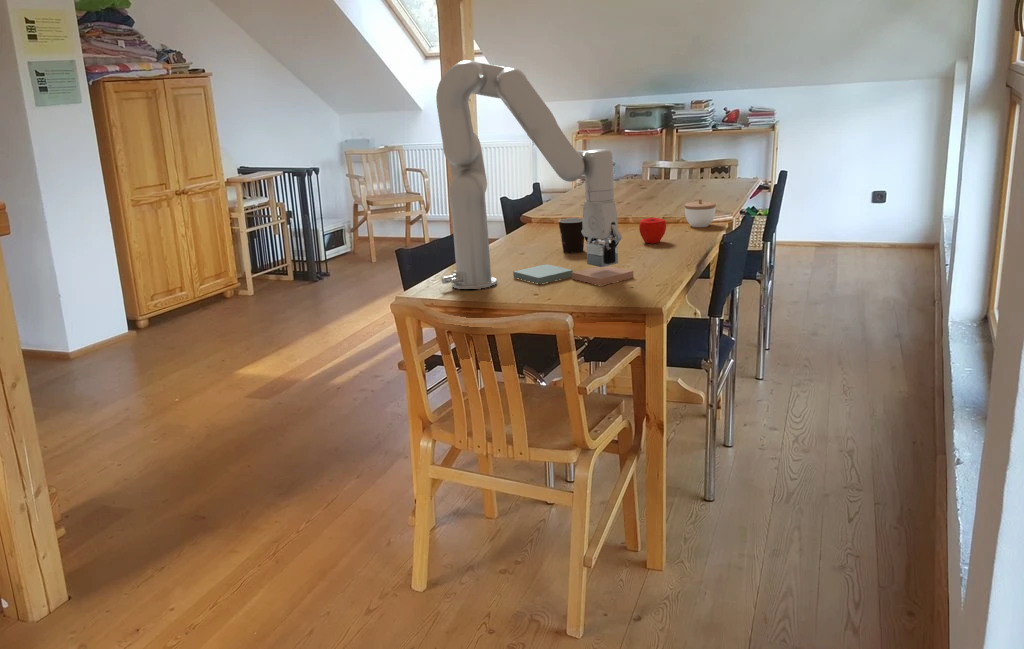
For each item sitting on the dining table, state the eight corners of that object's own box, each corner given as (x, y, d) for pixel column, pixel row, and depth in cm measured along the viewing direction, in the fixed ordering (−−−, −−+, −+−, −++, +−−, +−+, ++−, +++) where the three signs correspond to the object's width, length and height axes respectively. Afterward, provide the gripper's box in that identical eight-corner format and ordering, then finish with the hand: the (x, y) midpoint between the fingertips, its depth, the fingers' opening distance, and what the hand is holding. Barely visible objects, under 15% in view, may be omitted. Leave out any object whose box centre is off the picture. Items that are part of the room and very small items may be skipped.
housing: (601, 267, 233) (600, 245, 232) (587, 264, 238) (586, 242, 236) (618, 263, 237) (617, 241, 235) (603, 260, 241) (602, 238, 240)
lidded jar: (719, 223, 307) (720, 197, 304) (709, 229, 298) (709, 202, 296) (691, 222, 313) (691, 196, 310) (680, 227, 304) (679, 201, 301)
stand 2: (600, 286, 231) (600, 279, 230) (572, 279, 240) (571, 272, 240) (633, 278, 237) (633, 270, 237) (604, 271, 247) (604, 264, 246)
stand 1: (539, 285, 236) (538, 277, 236) (513, 278, 246) (513, 271, 245) (573, 277, 243) (572, 270, 242) (546, 270, 252) (546, 264, 252)
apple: (671, 242, 280) (671, 219, 278) (648, 246, 277) (647, 222, 275) (657, 238, 288) (657, 215, 286) (634, 242, 285) (633, 218, 283)
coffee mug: (581, 254, 271) (580, 223, 268) (555, 253, 275) (554, 222, 272) (593, 247, 281) (592, 216, 278) (568, 246, 285) (567, 216, 282)
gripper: (568, 195, 237) (571, 259, 242) (610, 200, 223) (613, 268, 228) (589, 192, 241) (592, 255, 246) (632, 196, 227) (633, 263, 232)
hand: (602, 260), depth 237 cm, fingers closed on housing, 6 cm apart
